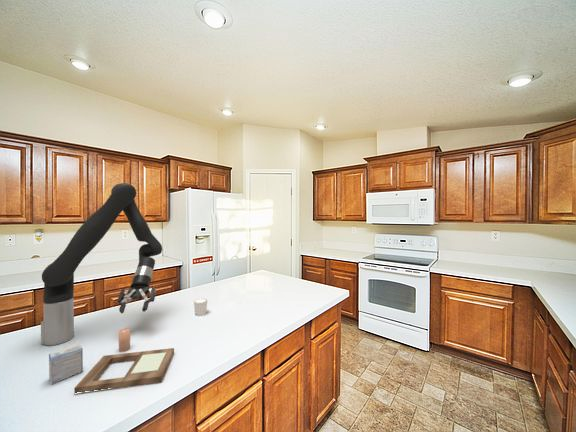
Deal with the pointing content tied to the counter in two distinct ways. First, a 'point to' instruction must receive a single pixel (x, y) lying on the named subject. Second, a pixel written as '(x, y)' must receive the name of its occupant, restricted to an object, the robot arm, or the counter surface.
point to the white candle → (200, 307)
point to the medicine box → (65, 363)
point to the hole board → (142, 371)
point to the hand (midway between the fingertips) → (132, 311)
